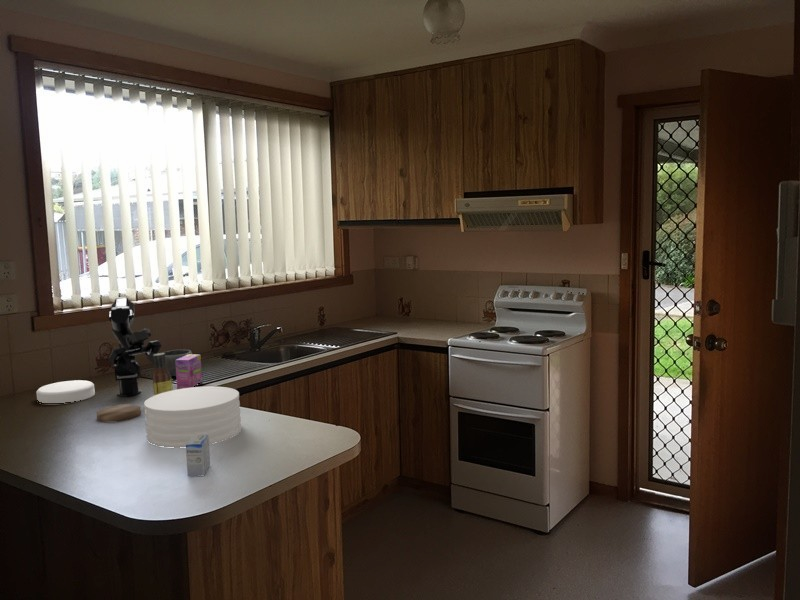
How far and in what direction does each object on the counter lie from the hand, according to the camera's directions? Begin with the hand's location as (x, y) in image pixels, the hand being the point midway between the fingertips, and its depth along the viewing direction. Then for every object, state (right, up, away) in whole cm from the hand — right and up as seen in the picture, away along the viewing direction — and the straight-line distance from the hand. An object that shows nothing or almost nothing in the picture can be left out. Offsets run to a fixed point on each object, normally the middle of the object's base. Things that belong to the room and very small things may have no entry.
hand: (147, 370), depth 247 cm
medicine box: (+36, -20, -63) cm, 76 cm away
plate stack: (+26, -17, -30) cm, 43 cm away
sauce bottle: (+7, -14, -3) cm, 16 cm away
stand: (-7, -15, -8) cm, 18 cm away
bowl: (-6, -8, +51) cm, 52 cm away
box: (+6, -10, +31) cm, 33 cm away
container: (-38, -13, +21) cm, 46 cm away
